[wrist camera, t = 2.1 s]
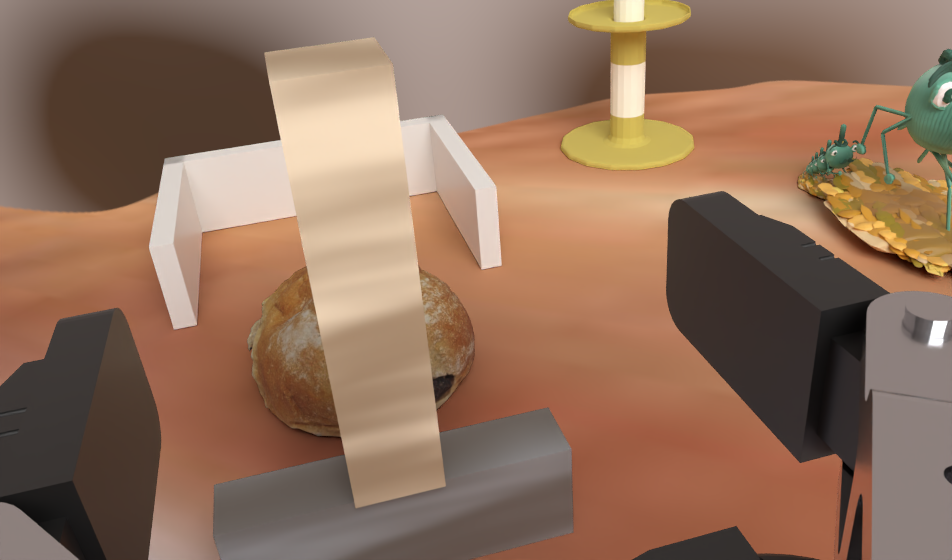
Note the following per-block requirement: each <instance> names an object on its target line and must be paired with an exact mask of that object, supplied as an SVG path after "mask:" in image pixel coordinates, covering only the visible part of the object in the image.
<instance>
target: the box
mask: <svg viewBox="0 0 952 560" xmlns="http://www.w3.org/2000/svg"><path fill="white" fill-rule="evenodd" d="M400 125H401V133H402V141H403V149H404V157H405V165H406V173H407V181H408V189H409V196H412V195H418V194H424V193H429V192H435V191H437V192H438V194H439V196H440V198H441V199H442V201H443V203H444V205H445V206H446V208H447V210H448V212H449V213H450V215H451V217H452V219H453V220H454V222H455V224H456V226H457V227H458V229H459V231H460V233H461V234H462V236H463V238H464V240H465V241H466V243H467V245H468V246H469V248H470V250H471V252H472V253H473V255H474V257H475V259H476V260H477V262H478V264H479V266H480V267H481V269H487V268H492V267H497V266H502V264H501V249H500V234H499V220H498V205H497V190H496V185H495V184H494V183H493V181H492V180H491V179H490V177H489V176H488V174H487V173H486V172H485V170H484V169H483V168H482V166H481V165H480V164H479V162H478V161H477V160H476V158H475V157H474V156H473V154H472V153H471V152H470V150H469V149H468V148H467V146H466V145H465V144H464V142H463V141H462V140H461V138H460V137H459V136H458V134H457V133H456V132H455V130H454V129H453V127H452V126H451V125H450V123H449V122H448V121H447V120H446V118H445V117H444V115H437V116H431V117H425V118H418V119H412V120H405V121H400ZM293 216H296V211H295V206H294V201H293V196H292V191H291V187H290V182H289V177H288V172H287V167H286V162H285V157H284V152H283V147H282V142H281V140H279V141H273V142H266V143H260V144H254V145H247V146H241V147H235V148H229V149H222V150H216V151H209V152H203V153H197V154H190V155H184V156H178V157H172V158H166V159H165V161H164V166H163V172H162V178H161V183H160V189H159V194H158V200H157V205H156V211H155V216H154V222H153V228H152V233H151V239H150V244H149V250H150V253H151V256H152V259H153V263H154V266H155V269H156V272H157V276H158V279H159V282H160V285H161V289H162V292H163V295H164V298H165V302H166V305H167V308H168V311H169V315H170V318H171V321H172V324H173V328H174V330H175V329H180V328H185V327H190V326H195V325H197V316H198V298H199V281H200V263H201V245H202V232H207V231H213V230H219V229H224V228H230V227H236V226H241V225H247V224H253V223H258V222H264V221H270V220H275V219H281V218H287V217H293Z"/></svg>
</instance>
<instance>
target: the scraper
mask: <svg viewBox="0 0 952 560" xmlns="http://www.w3.org/2000/svg"><path fill="white" fill-rule="evenodd" d="M265 59H266V65H267V71H268V77H269V83H270V87H271V93H272V97H273V103H274V107H275V112H276V117H277V122H278V127H279V132H280V137H281V142H282V147H283V152H284V157H285V162H286V167H287V172H288V177H289V182H290V187H291V191H292V196H293V201H294V206H295V211H296V216H297V221H298V226H299V231H300V236H301V241H302V246H303V251H304V256H305V261H306V266H307V270H308V275H309V280H310V285H311V290H312V295H313V300H314V305H315V310H316V315H317V320H318V325H319V330H320V335H321V340H322V345H323V349H324V354H325V359H326V364H327V369H328V374H329V379H330V384H331V389H332V394H333V399H334V404H335V409H336V414H337V419H338V424H339V428H340V433H341V438H342V443H343V448H344V453H345V455H341V456H337V457H332V458H328V459H324V460H319V461H315V462H311V463H306V464H302V465H298V466H293V467H289V468H285V469H280V470H276V471H272V472H267V473H263V474H259V475H254V476H250V477H246V478H241V479H237V480H233V481H229V482H224V483H220V484H216V485H214V517H213V537H214V540H215V543H216V546H217V549H218V552H219V555H220V559H221V560H470V559H474V558H478V557H482V556H485V555H489V554H493V553H497V552H501V551H504V550H508V549H512V548H516V547H520V546H523V545H527V544H531V543H535V542H539V541H542V540H546V539H550V538H554V537H558V536H562V535H565V534H569V533H573V495H572V452H571V448H570V446H569V444H568V442H567V440H566V438H565V437H564V435H563V433H562V431H561V429H560V428H559V426H558V424H557V422H556V420H555V419H554V417H553V415H552V413H551V411H550V410H549V408H544V409H540V410H535V411H531V412H527V413H522V414H518V415H514V416H509V417H505V418H501V419H496V420H492V421H488V422H483V423H479V424H475V425H470V426H466V427H462V428H457V429H453V430H449V431H445V432H440V433H439V427H438V419H437V412H436V404H435V396H434V388H433V380H432V372H431V364H430V356H429V348H428V340H427V332H426V324H425V316H424V308H423V300H422V292H421V284H420V276H419V268H418V260H417V253H416V245H415V237H414V229H413V221H412V213H411V205H410V197H409V189H408V181H407V173H406V165H405V157H404V149H403V141H402V133H401V125H400V117H399V109H398V101H397V93H396V86H395V78H394V70H393V64H392V62H391V61H390V59H389V58H388V56H387V55H386V54H385V52H384V51H383V49H382V48H381V46H380V45H379V44H378V42H377V41H376V39H375V38H374V37H373V38H366V39H359V40H352V41H345V42H338V43H330V44H323V45H316V46H308V47H301V48H294V49H286V50H279V51H272V52H265Z"/></svg>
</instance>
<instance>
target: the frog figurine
mask: <svg viewBox="0 0 952 560" xmlns="http://www.w3.org/2000/svg"><path fill="white" fill-rule="evenodd" d="M938 61H939V63H940V64H939V65H936V66H934V67H933V68H931V69H929V70H928V71H927V72H925V73H924V74H923V75H922V76H921V77H920V78H919V79H918V80H917V81H916V83H915V84H914V85H913V87H912V89H911V91H910V94H909V96H908V98H907V102H906V106H905V113H904V112H901V111H897V110H894V109H890V108H886V107H883V106H879V105H876V106H875V107H874V110H873V112H872V115H871V117H870V120H869V123H868V125H867V128H866V131H865V133H864V136H863V138H862V141H861V144H860V143H859V142H858V141H856V140H855V141H853V143H854V142H856V143H857V145H852V147H851V148H850V147H849V146H848V142H847V141H846V139H844V137H845V131H846V125H845V124H842V125H841V128H840V134H839V140H838V141H837V140H835V141H834V143H835V144H833V145H832V146H831V143H832V141H831V140H828V142H827V149H826V152H825V151H823V150H824V148H823V147H822V148H821V149H820V155H819V157H818V153H817V152H816V154H815V160H814V156H812V161H811V163H809V165H808V166H807V167H806V174H804V173H803V174H801V175H800V176H799V177H798V178H799V180H798V188H800V189H802V190H805V191H806V192H808V193H810V194H812V195H814V196H817V197H820V198H822V199H824V200H826V201H824V204H825V206H826V207H827V208H828V209H830V210H831V211H832V212H833V214H835V216H836V217H837V218H838V220H839V221H840V222H841V223H842V224H843V225H844V226H845V227H846V228H847V229H848V230H851V231H852V232H853V233H854V234H855V235H856V236H858V237H859V238H860V239H862V240H863V241H864V242H865V243H867V244H868V245H870V246H871V247H873V248H874V249H876V250H878V251H881V252H887V253H893V254H898V256H899V257H900V258H901V259H903V260H907V261H909V262H913V264H914V265H915V266H916V267H919V268H920V267H923V265H924V266H925V268H926V270H927V272H929V273H931V274H934V275H938V276H942V277H943V273H945V272H948V270H950V269H952V183H951V182H952V173H951V171H950V170H949V166H950V167H951V168H952V163H951V162H950V161H948V160H947V155H946V154H952V50H950V49H947V50H944V51H943V53H942V54H941V56H940V58H939V60H938ZM877 109H879V110H883V111H886V112H890V113H894V114H897V115H901V116H904V117H905V119H904V120H902V121H900V122H898V123H896V124H894V125H892V126H891V127H889V128H887V129H885V130H883V131H882V133H881V138H882V146H883V154H884V162H885V164H883V163H873V162H872V161H871V160H870V159H866V158H861V159H860V160H859V159H853V152H855V151H857V153H859V154H865V153H866V149H865V148H866V147H865V145H863V144H864V142H865V139H866V137H867V134H868V132H869V129H870V127H871V124H872V122H873V119H874V116H875V114H876V111H877ZM897 127H898V129H897V130H901V129H904V128H906V127H907V129H908V132H909V134H910V135H911V137H912V138H913V140H914V141H915V142H916V143H917V144H918V145H920V146H921V147H923V148H925V149H926V150H925V151H924V152H923V153H922V155H921V156H920V157H919V158H918V160H917V162H918V163H920V162H921V161H922V159H923V158H924V157H925V155H926V154H927V153H928V151H930V152H931V153H932V154H933V155H934V156H935V158H936V159H937V161H938V162H939V164H940V165H941V167H942V168H943V170H944V172H945V177H946V181H944V180H938V181H936V180H929V181H926V180H925V179H924V178H922V177H920V176H917V175H915V174H914V176H913V175H911V174H910V173H909V172H906V171H904V170H903V169H901V168H895V169H892V168H890V167H889V166H888V158H887V150H886V141H885V135H884V134H885V133H887V132H889V131H891V130H893V129H895V128H897ZM939 153H940V154H941V155H940V154H939ZM856 158H857V157H856ZM948 165H949V166H948ZM847 166H849V167H850V168H848V169H847V172H848V173H846V171H845V170H844V168H845V167H847ZM834 168H837V169H840V168H842V169H843V171H844V172H845V173H843V172H842V173H841V171H839V172H838V173H833V172H832V170H833V169H834ZM804 172H805V171H804ZM822 172H823V173H822ZM826 172H827V173H828V174H827V173H826ZM831 172H832V173H831ZM819 173H820V174H821V175H822V174H823V175H825V174H826V175H829V174H833V175H834V174H836V176H835V175H834V179H831V180H830V179H827V178H825V176H824V177H823V175H822V176H819V175H817V174H819ZM837 174H839V175H837Z"/></svg>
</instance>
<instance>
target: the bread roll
mask: <svg viewBox="0 0 952 560" xmlns="http://www.w3.org/2000/svg"><path fill="white" fill-rule="evenodd" d="M418 268H419V276H420V284H421V292H422V300H423V308H424V316H425V324H426V332H427V340H428V348H429V356H430V364H431V372H432V380H433V388H434V396H435V404H436V410H437V409H438V408H439V407H440V406H441V405H442V404H443V403H444V402H445V401H446V400H447V399H448V398H449V397H450V396H451V394H452V393H453V392H454V391H455V389H456V388H457V386H458V384H459V383H460V382H461V381H462V380H463V379H464V378H465V376H466V375H467V374H468V373H469V371H470V367H471V365H472V362H473V360H474V333H473V327H472V324H471V320H470V318H469V316H468V314H467V312H466V310H465V308H464V306H463V305H462V303H461V302H460V300H459V298H458V297H457V296H456V295H455V293H454V292H452V291H451V290H450V287H449V286H448V285H447V284H446V283H444V282H442V281H441V280H440V279H438V278H437V277H435V276H434V275H431V274H430V273H428V272H426V271H424V270H421V268H420V267H419V265H418ZM262 306H263V307H262V314H263V315H262V317H261V319H260V320H258V321H257V322H256V323H255V324H254V325H253V326H252V328H251V333H250V335H249V337H248V340H247V343H248V349H249V351H250V350H251V349H252V354H251V358H252V359H253V366H252V376H253V378H254V379H255V381H256V382H257V384H258V388H259V391H260V394H261V396H262V397H263V399H264V402H265V407H266V408H269V409H270V411H271V412H273V413H274V414H275V415H276V416H277V417H278V418H279V419H280V420H281V421H283V422H284V423H285V424H287V425H288V426H289V427H291V428H299V429H302V430H303V431H307V432H310V433H312V434H314V435H317V436H335V437H341V433H340V428H339V424H338V419H337V414H336V409H335V404H334V399H333V394H332V389H331V384H330V379H329V374H328V369H327V364H326V359H325V354H324V349H323V345H322V340H321V335H320V330H319V325H318V320H317V315H316V310H315V305H314V300H313V295H312V290H311V285H310V280H309V275H308V270H307V266H306V267H304V268H302V269H300V270H298V271H297V272H295V273H294V274H293V275H292V276H291V277H290V278H289V279H287V280H286V281H284V282H283V283H282V284H281V285H280V286H279V287H278V289H277V290H276V291H275V293H274V294H272V295H271V296H270V297H268V298H267V299H266V300H264V301H263V303H262Z"/></svg>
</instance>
